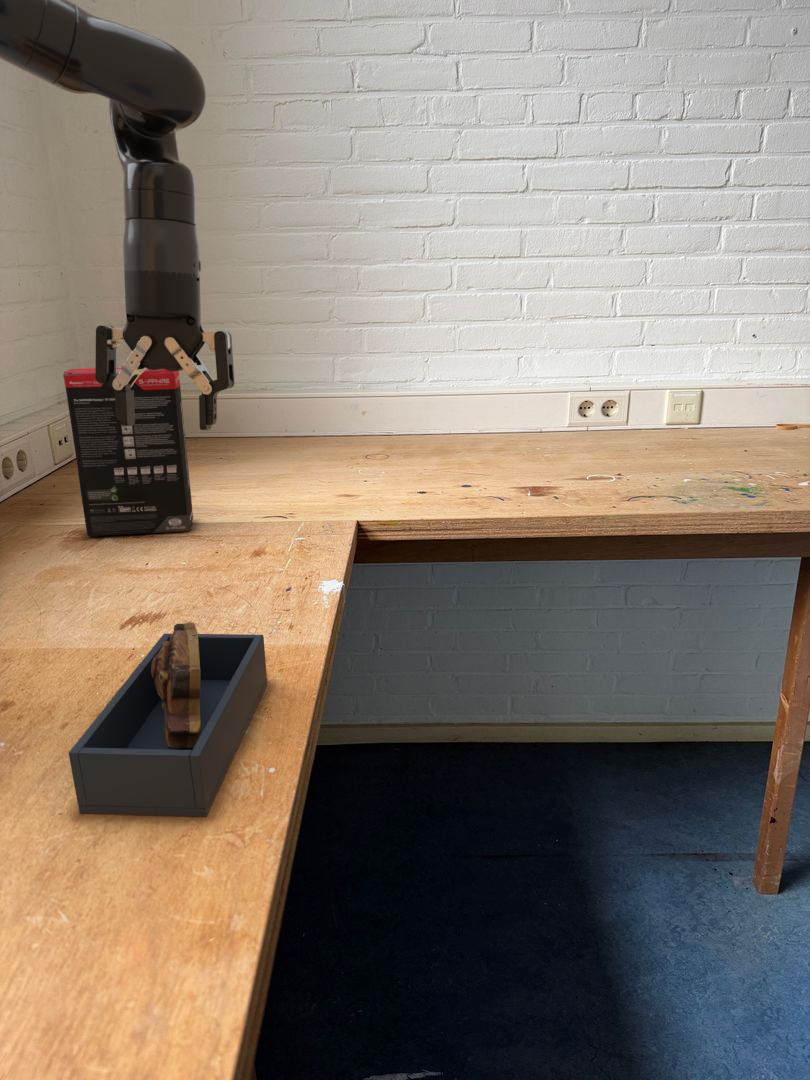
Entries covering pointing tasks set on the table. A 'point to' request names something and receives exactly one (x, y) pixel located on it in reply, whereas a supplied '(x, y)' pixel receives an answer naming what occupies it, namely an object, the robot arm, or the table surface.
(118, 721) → the bin
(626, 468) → the table surface
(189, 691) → the wooden carving
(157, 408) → the graphics card box
